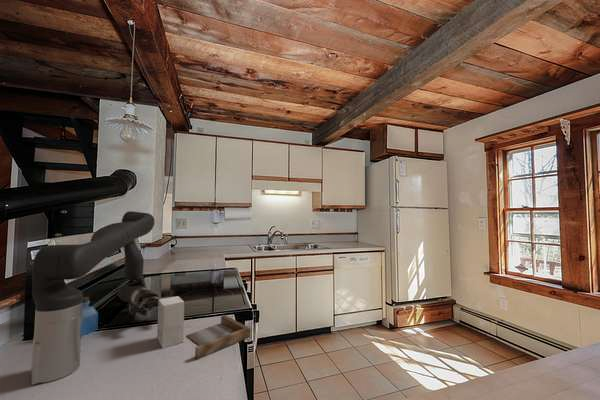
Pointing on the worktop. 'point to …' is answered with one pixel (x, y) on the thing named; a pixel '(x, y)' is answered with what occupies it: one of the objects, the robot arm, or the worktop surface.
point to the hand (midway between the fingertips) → (158, 309)
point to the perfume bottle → (88, 318)
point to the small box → (170, 321)
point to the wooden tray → (219, 336)
